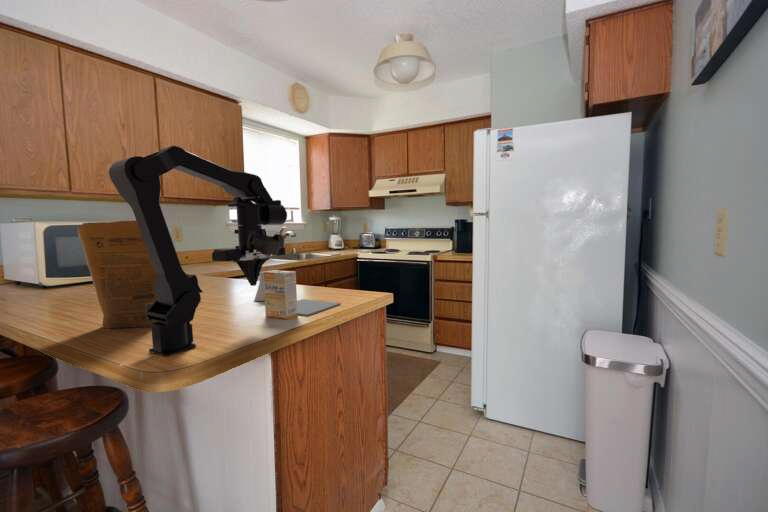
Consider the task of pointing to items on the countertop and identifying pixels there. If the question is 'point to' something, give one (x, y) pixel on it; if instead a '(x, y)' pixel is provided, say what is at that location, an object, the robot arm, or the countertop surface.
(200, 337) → the countertop surface
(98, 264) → the pancake mix bag
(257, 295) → the flask
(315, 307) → the mat
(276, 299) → the supplement box
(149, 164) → the robot arm
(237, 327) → the countertop surface
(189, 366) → the countertop surface
